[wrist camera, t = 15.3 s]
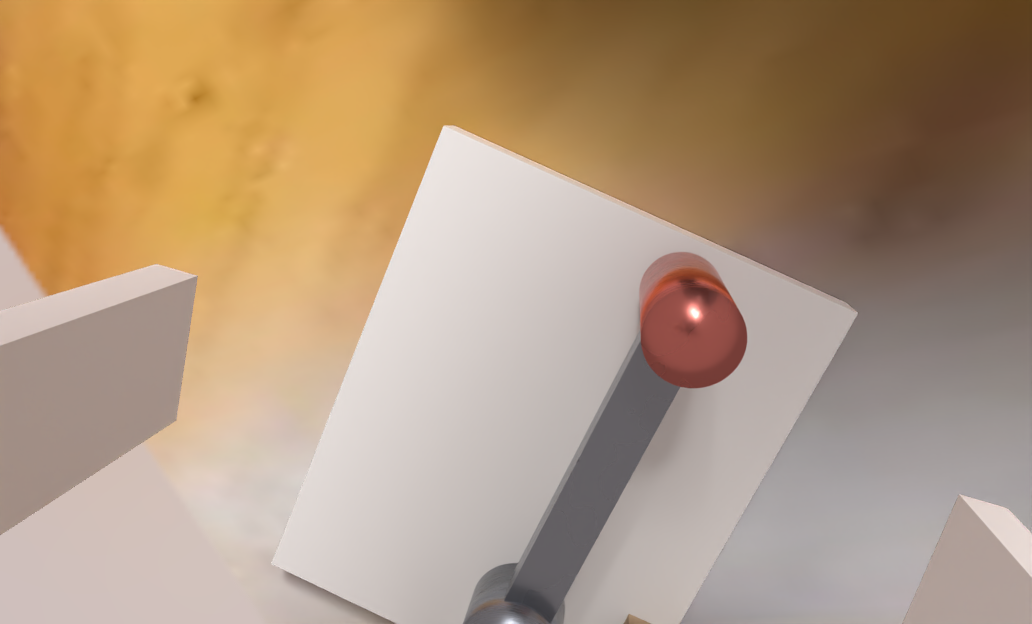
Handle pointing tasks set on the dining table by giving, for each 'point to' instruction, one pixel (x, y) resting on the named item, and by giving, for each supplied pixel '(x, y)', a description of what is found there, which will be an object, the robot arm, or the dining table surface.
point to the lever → (620, 434)
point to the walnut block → (634, 620)
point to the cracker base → (537, 400)
